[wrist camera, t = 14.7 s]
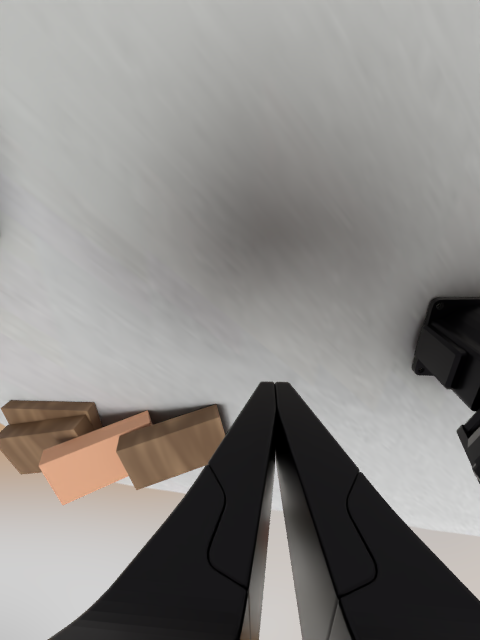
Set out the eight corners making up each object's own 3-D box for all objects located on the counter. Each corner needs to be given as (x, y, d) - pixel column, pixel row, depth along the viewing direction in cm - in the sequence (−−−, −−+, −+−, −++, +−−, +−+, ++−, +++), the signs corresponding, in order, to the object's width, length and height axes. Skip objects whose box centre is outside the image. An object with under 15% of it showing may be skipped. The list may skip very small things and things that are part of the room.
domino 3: (160, 447, 28) (65, 488, 26) (147, 410, 26) (43, 450, 24) (163, 460, 27) (62, 505, 24) (149, 421, 25) (38, 466, 22)
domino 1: (87, 410, 26) (0, 408, 26) (100, 448, 28) (20, 444, 29) (98, 398, 27) (16, 396, 28) (109, 434, 29) (33, 431, 30)
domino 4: (219, 416, 24) (115, 451, 23) (231, 456, 26) (136, 490, 25) (216, 404, 26) (119, 435, 24) (227, 441, 28) (138, 473, 26)
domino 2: (73, 429, 24) (-9, 439, 26) (98, 466, 26) (20, 474, 28) (85, 414, 26) (7, 425, 27) (107, 450, 28) (34, 458, 29)
